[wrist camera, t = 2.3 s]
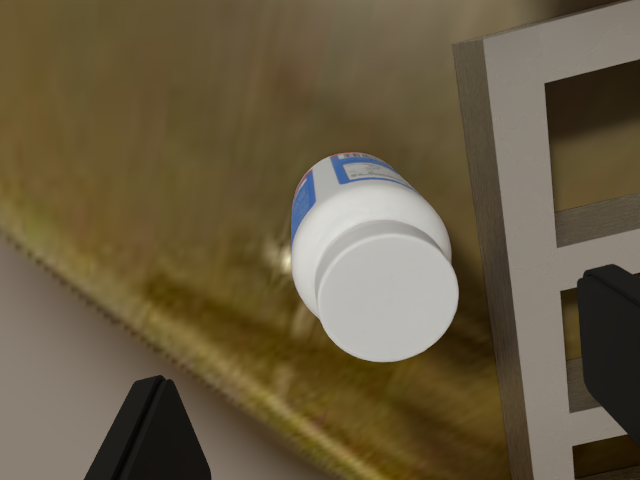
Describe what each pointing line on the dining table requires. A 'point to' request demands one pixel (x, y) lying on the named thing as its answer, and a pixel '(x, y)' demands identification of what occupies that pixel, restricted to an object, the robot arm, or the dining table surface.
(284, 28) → the dining table surface
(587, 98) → the dining table surface
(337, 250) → the pill bottle
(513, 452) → the hollow concrete block
